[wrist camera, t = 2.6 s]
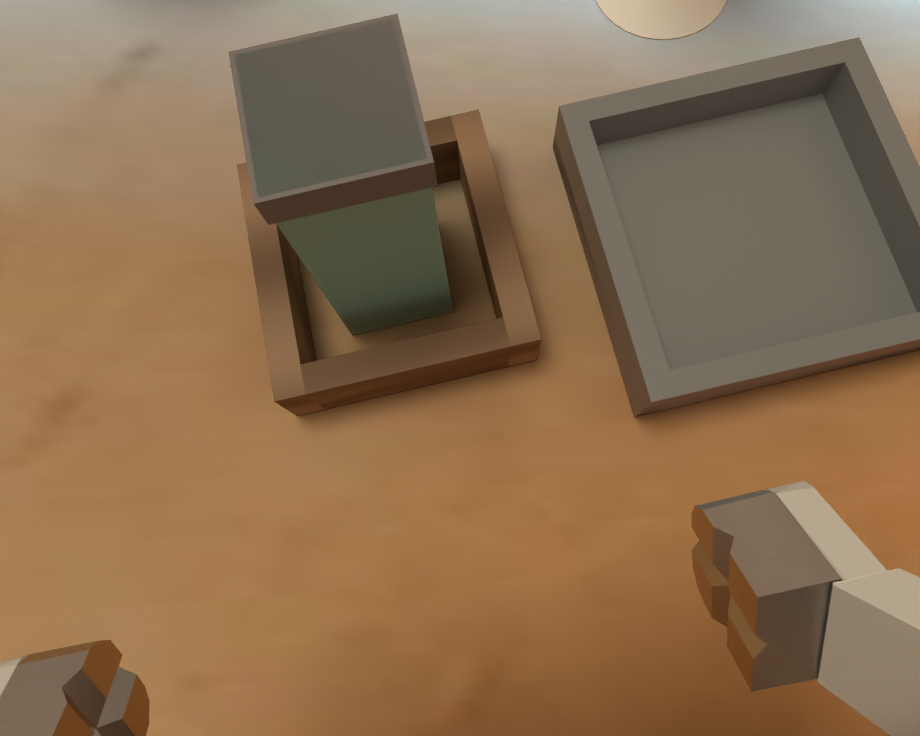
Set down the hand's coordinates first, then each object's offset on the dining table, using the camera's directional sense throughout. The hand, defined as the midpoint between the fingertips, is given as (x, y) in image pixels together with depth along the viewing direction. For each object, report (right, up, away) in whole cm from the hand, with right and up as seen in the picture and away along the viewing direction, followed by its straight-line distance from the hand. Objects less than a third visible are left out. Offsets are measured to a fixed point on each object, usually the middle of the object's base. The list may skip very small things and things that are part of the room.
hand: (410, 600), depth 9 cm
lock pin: (-2, +7, +20) cm, 22 cm away
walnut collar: (-2, +7, +20) cm, 22 cm away
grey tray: (+13, +9, +20) cm, 25 cm away
